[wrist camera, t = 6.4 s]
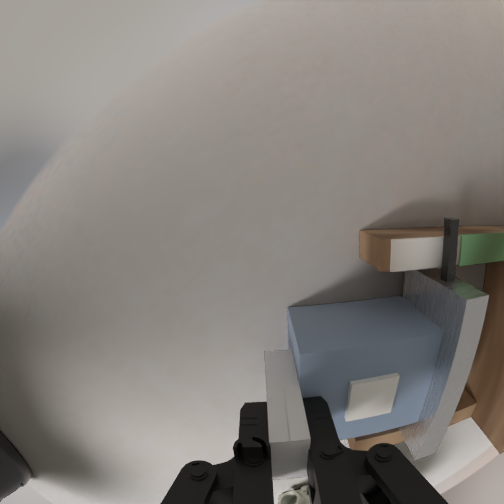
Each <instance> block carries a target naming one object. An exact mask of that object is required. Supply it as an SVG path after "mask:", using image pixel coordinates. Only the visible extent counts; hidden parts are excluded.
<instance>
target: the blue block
mask: <svg viewBox="0 0 504 504" xmlns="http://www.w3.org/2000/svg"><path fill="white" fill-rule="evenodd" d="M442 336H443V330H442V329H440V328H439V327H438V326H437V325H436V324H434V323H433V322H432V321H431V320H430V319H428V318H427V317H426V316H425V315H424V314H422V313H421V312H420V311H419V310H417V309H416V308H415V307H414V306H413V305H411V304H410V303H409V302H408V301H406V300H405V299H404V298H403V297H401V296H395V297H387V298H379V299H370V300H361V301H352V302H343V303H332V304H322V305H310V306H298V307H288V350H292V355H293V359H294V364H295V368H296V373H297V378H298V382H299V387H300V390H301V395H302V398H309V397H317V396H321V397H322V398H323V399H324V400H325V401H327V403H328V406H329V409H330V412H331V415H332V419H333V422H334V425H335V428H336V432H337V435H338V438H339V440H344V439H349V438H354V437H359V436H364V435H369V434H373V433H378V432H382V431H386V430H390V429H394V428H397V427H401V426H405V425H408V424H411V423H415V422H418V419H419V416H420V414H421V411H422V408H423V405H424V402H425V399H426V396H427V393H428V390H429V386H430V383H431V380H432V376H433V373H434V369H435V365H436V361H437V357H438V353H439V349H440V345H441V341H442Z"/></svg>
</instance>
